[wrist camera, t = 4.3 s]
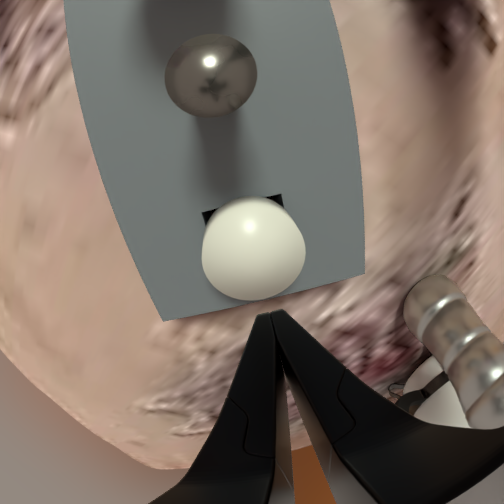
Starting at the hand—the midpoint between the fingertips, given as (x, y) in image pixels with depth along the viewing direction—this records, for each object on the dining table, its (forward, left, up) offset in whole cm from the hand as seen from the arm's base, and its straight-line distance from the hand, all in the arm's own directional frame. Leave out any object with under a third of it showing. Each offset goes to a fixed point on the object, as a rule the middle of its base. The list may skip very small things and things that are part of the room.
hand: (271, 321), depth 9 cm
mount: (0, -8, -12) cm, 14 cm away
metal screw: (0, -8, -8) cm, 11 cm away
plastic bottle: (-16, +13, -12) cm, 24 cm away
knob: (0, +1, -12) cm, 12 cm away
